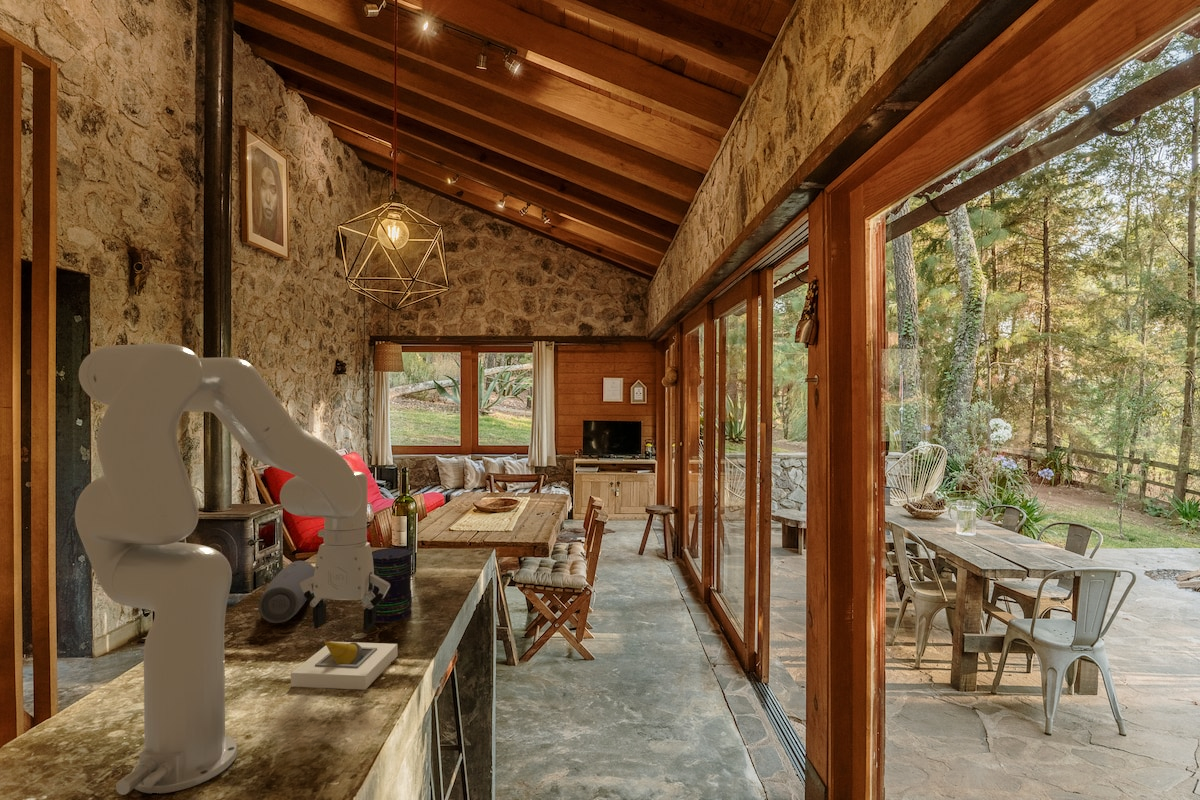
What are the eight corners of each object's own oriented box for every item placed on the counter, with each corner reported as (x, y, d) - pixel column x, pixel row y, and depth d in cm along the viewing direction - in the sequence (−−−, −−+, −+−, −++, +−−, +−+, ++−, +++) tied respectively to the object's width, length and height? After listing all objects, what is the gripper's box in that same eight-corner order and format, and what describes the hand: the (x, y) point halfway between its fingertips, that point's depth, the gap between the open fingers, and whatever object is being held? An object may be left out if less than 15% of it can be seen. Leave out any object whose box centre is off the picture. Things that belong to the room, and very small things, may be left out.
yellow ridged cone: (369, 672, 118) (333, 650, 112) (346, 682, 119) (309, 660, 113) (373, 647, 122) (339, 623, 117) (351, 656, 123) (316, 633, 117)
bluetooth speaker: (279, 598, 160) (279, 559, 159) (318, 595, 162) (318, 557, 162) (255, 631, 138) (255, 586, 138) (300, 626, 140) (300, 583, 140)
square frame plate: (365, 689, 111) (365, 674, 110) (290, 686, 112) (290, 671, 112) (397, 656, 124) (397, 642, 124) (330, 653, 126) (330, 640, 126)
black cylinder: (368, 610, 150) (368, 549, 150) (410, 605, 154) (410, 546, 153) (368, 625, 141) (368, 560, 141) (413, 619, 144) (413, 556, 144)
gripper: (290, 539, 115) (289, 632, 114) (381, 542, 113) (379, 636, 113) (312, 531, 122) (311, 618, 122) (397, 534, 121) (396, 621, 120)
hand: (344, 626), depth 117 cm, fingers open, 9 cm apart
